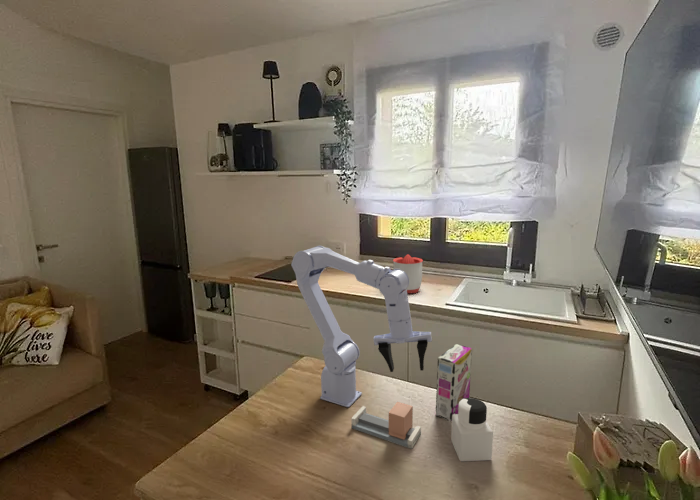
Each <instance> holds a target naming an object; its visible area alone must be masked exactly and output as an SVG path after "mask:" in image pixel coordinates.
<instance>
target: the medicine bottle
mask: <svg viewBox="0 0 700 500" xmlns="http://www.w3.org/2000/svg"><path fill="white" fill-rule="evenodd" d="M487 409H488V408H487V405H486V404H485V402H483V401H482V400H480V399H477V398H476V397H475V398H473V397H469V398H464V399H462V400H461V401H460V402H459V408H458V414H453V415H452V421H451V435H450V436H451V437H450V438H451V439H450V440H451V443H452V446H453V448H454V450H455V453H456V455H457V457H458V460H459V461H460V462H477V461H480V462H481V461H491V460H492V459H493V457H492V456H493V440H494V439H493V438H494V432H493V429H492V428H491V426H490V425H489V423H488V421H487V411H488V410H487Z"/></svg>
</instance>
